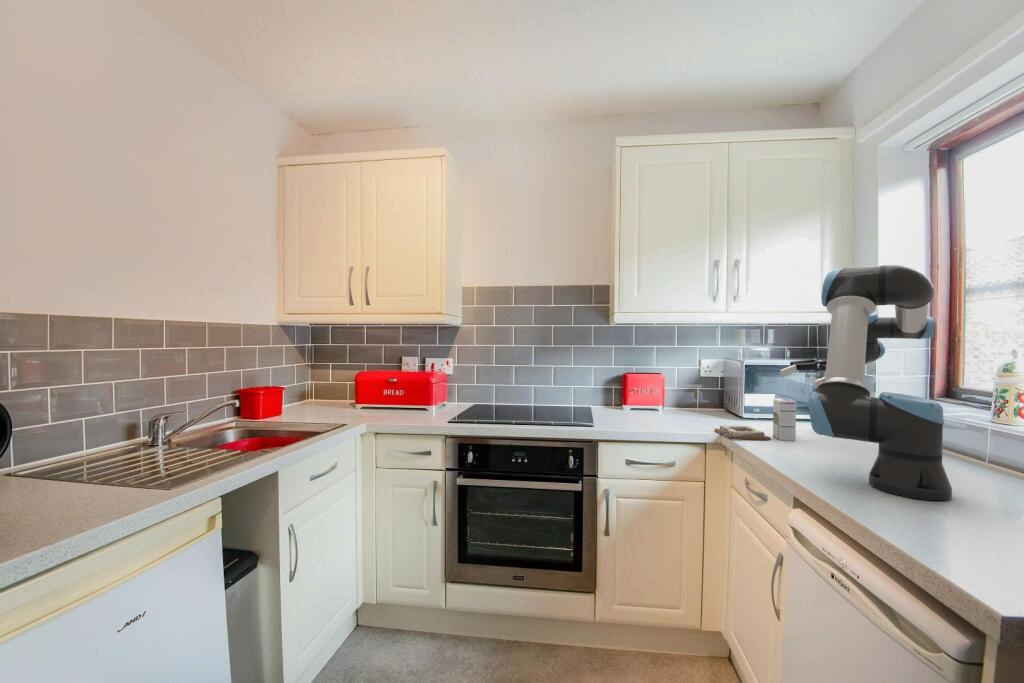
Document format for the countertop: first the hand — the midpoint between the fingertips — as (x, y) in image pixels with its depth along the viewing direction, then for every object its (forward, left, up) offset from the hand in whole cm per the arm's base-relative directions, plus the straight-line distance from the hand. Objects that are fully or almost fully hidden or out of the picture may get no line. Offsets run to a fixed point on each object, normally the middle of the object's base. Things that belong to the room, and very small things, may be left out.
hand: (797, 379), depth 156 cm
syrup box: (0, +4, -23) cm, 23 cm away
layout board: (-10, +14, -22) cm, 28 cm away
